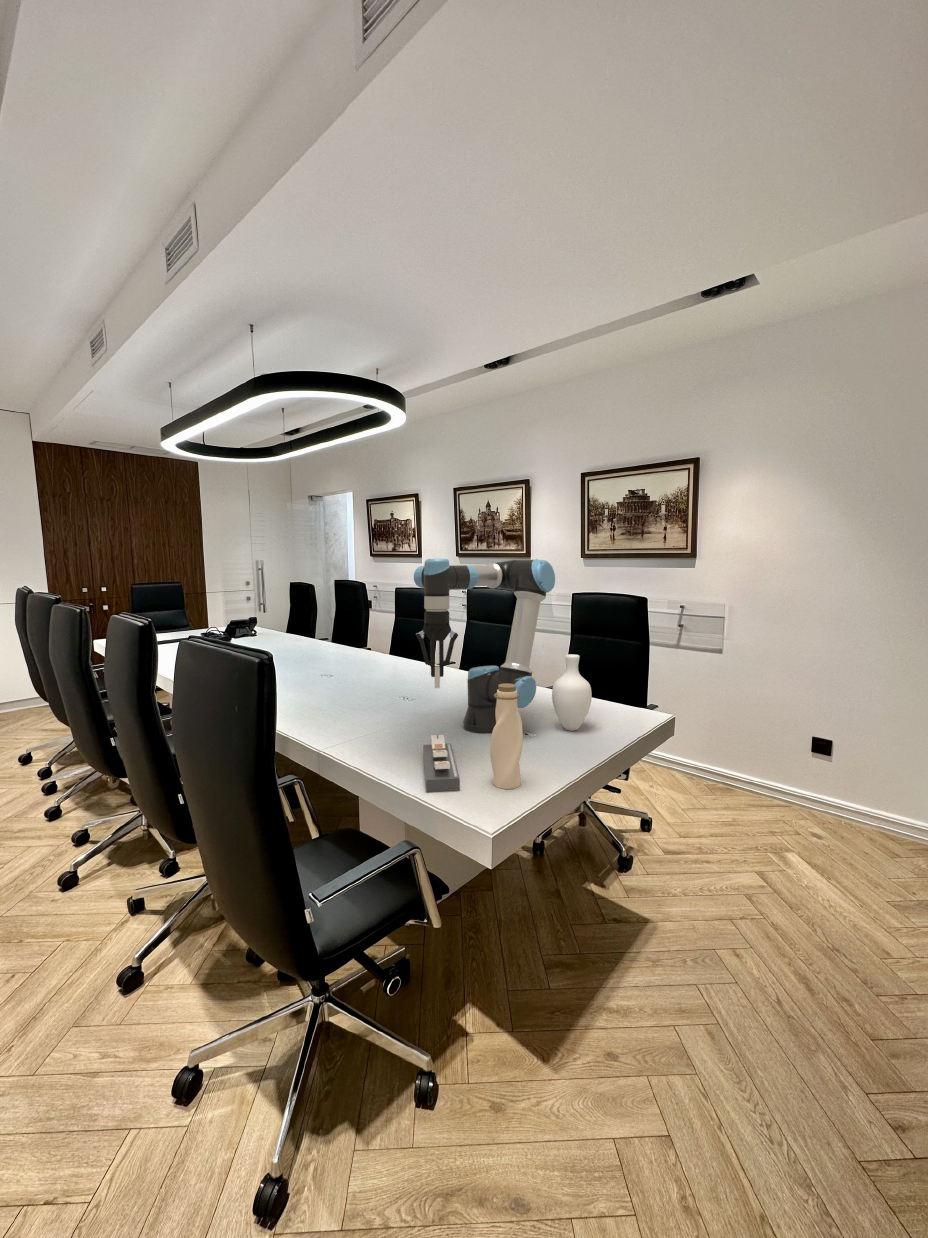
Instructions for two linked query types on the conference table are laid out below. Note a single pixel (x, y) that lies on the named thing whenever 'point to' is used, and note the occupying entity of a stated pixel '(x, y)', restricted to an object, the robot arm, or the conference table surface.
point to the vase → (571, 695)
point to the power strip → (440, 771)
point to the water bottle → (506, 739)
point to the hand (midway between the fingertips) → (437, 687)
